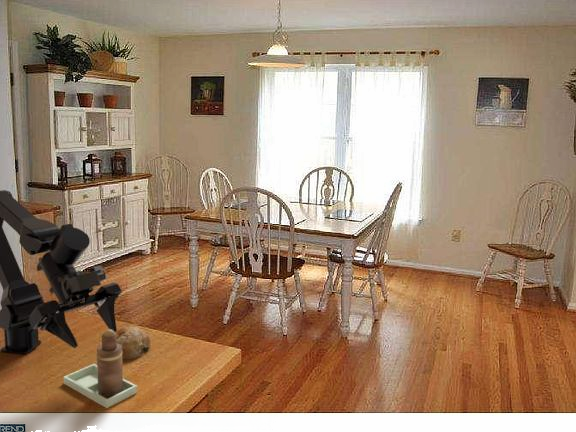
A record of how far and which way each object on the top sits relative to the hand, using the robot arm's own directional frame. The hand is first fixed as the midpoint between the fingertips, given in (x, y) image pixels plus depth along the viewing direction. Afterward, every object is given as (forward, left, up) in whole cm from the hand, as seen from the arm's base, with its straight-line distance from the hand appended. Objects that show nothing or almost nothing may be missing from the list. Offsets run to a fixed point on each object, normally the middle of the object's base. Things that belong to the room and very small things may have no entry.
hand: (96, 339), depth 108 cm
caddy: (+1, 0, -11) cm, 11 cm away
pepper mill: (+4, -2, -11) cm, 11 cm away
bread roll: (-1, +17, -11) cm, 21 cm away
